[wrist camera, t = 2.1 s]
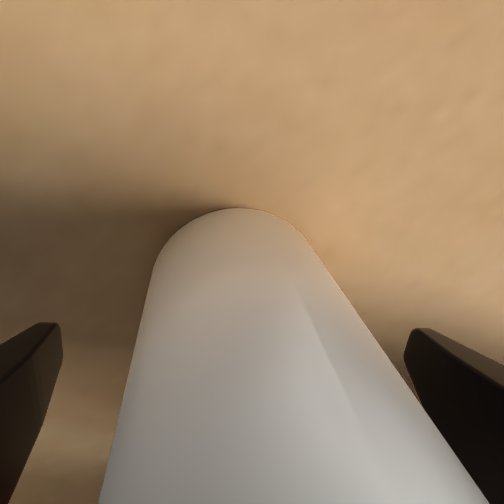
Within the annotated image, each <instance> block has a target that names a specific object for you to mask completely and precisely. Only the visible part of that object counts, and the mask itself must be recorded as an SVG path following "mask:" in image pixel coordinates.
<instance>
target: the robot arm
mask: <svg viewBox="0 0 504 504" xmlns="http://www.w3.org/2000/svg"><path fill="white" fill-rule="evenodd" d="M62 359H63V348H62V339H61V331H60V326H59V324H57V323H48V322H40V323H37V324H35V325H33V326H32V327H30V328H28V329H26V330H25V331H23V332H21V333H19V334H18V335H16V336H14V337H13V338H11V339H9V340H7V341H6V342H4V343H2V344H1V345H0V504H8V503H9V501H10V499H11V496H12V494H13V492H14V489H15V487H16V485H17V483H18V480H19V478H20V476H21V473H22V471H23V469H24V467H25V464H26V462H27V460H28V457H29V455H30V453H31V451H32V448H33V446H34V444H35V441H36V439H37V437H38V434H39V432H40V430H41V427H42V425H43V422H44V419H45V416H46V412H47V409H48V406H49V403H50V399H51V396H52V393H53V390H54V386H55V383H56V380H57V376H58V373H59V370H60V367H61V363H62ZM404 362H405V365H406V367H407V370H408V372H409V374H410V377H411V379H412V382H413V384H414V386H415V389H416V391H417V394H418V396H419V398H420V401H421V403H422V406H423V408H424V410H425V411H426V413H427V414H428V416H429V417H430V419H431V420H432V422H433V423H434V424H435V426H436V427H437V429H438V430H439V432H440V433H441V435H442V436H443V437H444V439H445V440H446V442H447V443H448V445H449V446H450V447H451V449H452V450H453V452H454V453H455V455H456V456H457V458H458V459H459V460H460V462H461V463H462V465H463V466H464V468H465V469H466V471H467V472H468V473H469V475H470V476H471V478H472V479H473V481H474V482H475V484H476V485H477V486H478V488H479V489H480V491H481V492H482V494H483V495H484V496H485V498H486V499H487V501H488V502H489V504H504V366H503V365H501V364H499V363H497V362H495V361H493V360H491V359H489V358H487V357H485V356H483V355H481V354H479V353H477V352H475V351H473V350H471V349H469V348H467V347H465V346H463V345H461V344H459V343H458V342H456V341H454V340H452V339H450V338H448V337H446V336H444V335H442V334H440V333H438V332H436V331H434V330H432V329H429V328H415V329H413V330H412V331H411V333H410V336H409V339H408V342H407V345H406V348H405V351H404Z"/></svg>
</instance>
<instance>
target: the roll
mask: <svg viewBox="0 0 504 504" xmlns="http://www.w3.org/2000/svg"><path fill="white" fill-rule="evenodd" d="M98 504H489V502H488V501H487V499H486V498H485V496H484V495H483V494H482V492H481V491H480V489H479V488H478V486H477V485H476V484H475V482H474V481H473V479H472V478H471V476H470V475H469V473H468V472H467V471H466V469H465V468H464V466H463V465H462V463H461V462H460V460H459V459H458V458H457V456H456V455H455V453H454V452H453V450H452V449H451V447H450V446H449V445H448V443H447V442H446V440H445V439H444V437H443V436H442V435H441V433H440V432H439V430H438V429H437V427H436V426H435V424H434V423H433V422H432V420H431V419H430V417H429V416H428V414H427V413H426V411H425V410H424V409H423V407H422V406H421V404H420V403H419V401H418V400H417V398H416V397H415V396H414V394H413V393H412V391H411V390H410V388H409V387H408V386H407V384H406V383H405V381H404V380H403V378H402V377H401V375H400V374H399V373H398V371H397V370H396V368H395V367H394V365H393V364H392V362H391V361H390V360H389V358H388V357H387V355H386V354H385V352H384V351H383V349H382V348H381V347H380V345H379V344H378V342H377V341H376V339H375V338H374V336H373V335H372V334H371V332H370V331H369V329H368V328H367V326H366V325H365V324H364V322H363V321H362V319H361V318H360V316H359V315H358V313H357V312H356V311H355V309H354V308H353V306H352V305H351V303H350V302H349V300H348V299H347V298H346V296H345V295H344V293H343V292H342V290H341V289H340V287H339V286H338V285H337V283H336V282H335V280H334V279H333V277H332V276H331V275H330V273H329V272H328V270H327V269H326V267H325V266H324V264H323V263H322V262H321V260H320V259H319V257H318V256H317V254H316V253H315V251H314V250H313V249H312V247H311V246H310V244H309V243H308V241H307V240H306V238H305V237H304V236H303V235H302V234H301V233H300V232H299V231H298V230H297V229H296V228H295V227H294V226H292V225H291V224H290V223H289V222H287V221H285V220H284V219H282V218H280V217H278V216H276V215H273V214H271V213H268V212H264V211H261V210H256V209H248V208H231V209H223V210H218V211H214V212H210V213H208V214H205V215H203V216H200V217H198V218H196V219H194V220H192V221H190V222H189V223H187V224H186V225H184V226H183V227H182V228H180V229H179V230H178V231H177V232H176V233H175V234H174V235H173V236H172V237H170V239H169V240H168V241H167V242H166V244H165V245H164V246H163V248H162V249H161V251H160V253H159V255H158V256H157V259H156V261H155V264H154V267H153V271H152V275H151V279H150V284H149V288H148V292H147V296H146V301H145V305H144V309H143V314H142V318H141V322H140V326H139V331H138V335H137V339H136V344H135V348H134V352H133V356H132V361H131V365H130V369H129V374H128V378H127V382H126V386H125V391H124V395H123V399H122V404H121V408H120V412H119V416H118V421H117V425H116V429H115V434H114V438H113V442H112V446H111V451H110V455H109V459H108V463H107V468H106V472H105V476H104V481H103V485H102V489H101V493H100V498H99V502H98Z"/></svg>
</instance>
